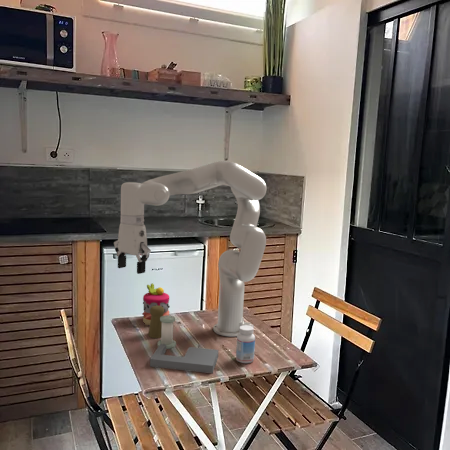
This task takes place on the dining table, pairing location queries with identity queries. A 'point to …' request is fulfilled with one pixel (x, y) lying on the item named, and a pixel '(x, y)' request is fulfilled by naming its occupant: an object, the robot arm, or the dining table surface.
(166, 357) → the gray block
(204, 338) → the dining table surface
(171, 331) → the bobbin post
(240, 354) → the pill bottle
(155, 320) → the cork
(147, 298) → the cake
